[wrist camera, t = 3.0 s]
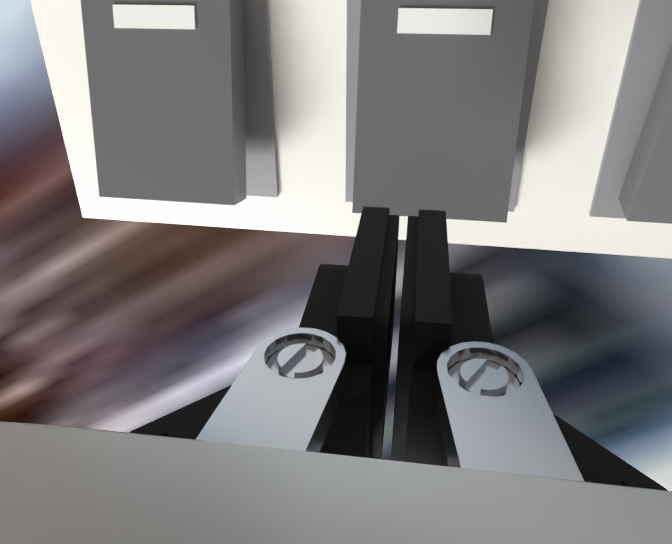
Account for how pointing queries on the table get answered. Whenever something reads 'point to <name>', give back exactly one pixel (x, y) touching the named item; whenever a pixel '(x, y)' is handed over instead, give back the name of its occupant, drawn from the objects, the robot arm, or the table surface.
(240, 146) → the left rocker
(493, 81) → the middle rocker
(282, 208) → the rocker switch panel
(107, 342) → the table surface
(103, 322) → the table surface
